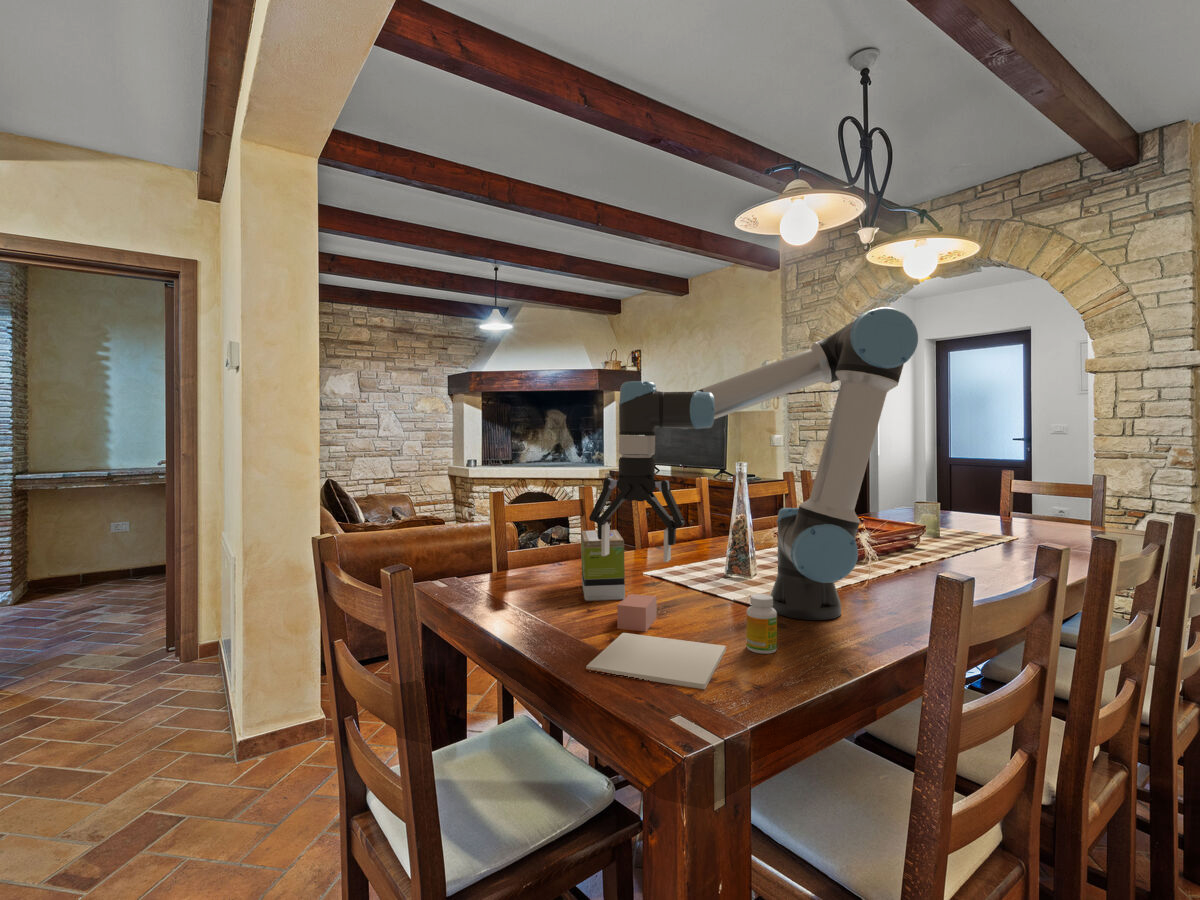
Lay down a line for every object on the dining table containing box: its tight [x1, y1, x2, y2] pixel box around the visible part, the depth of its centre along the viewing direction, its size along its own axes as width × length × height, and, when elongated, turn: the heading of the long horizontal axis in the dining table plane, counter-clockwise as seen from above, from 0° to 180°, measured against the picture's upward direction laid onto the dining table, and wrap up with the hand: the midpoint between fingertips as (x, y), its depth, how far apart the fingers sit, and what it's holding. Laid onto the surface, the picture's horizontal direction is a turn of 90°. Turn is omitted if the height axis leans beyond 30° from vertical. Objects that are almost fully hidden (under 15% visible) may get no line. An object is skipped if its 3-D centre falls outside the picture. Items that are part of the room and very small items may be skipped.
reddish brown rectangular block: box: [616, 593, 658, 632], centre depth 124 cm, size 6×9×5 cm, turn 161°
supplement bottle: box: [746, 593, 778, 655], centre depth 109 cm, size 5×5×10 cm
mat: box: [586, 632, 727, 690], centre depth 104 cm, size 20×18×1 cm
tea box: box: [580, 529, 626, 602], centre depth 149 cm, size 15×10×15 cm
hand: (635, 557), depth 124 cm, fingers open, 13 cm apart
